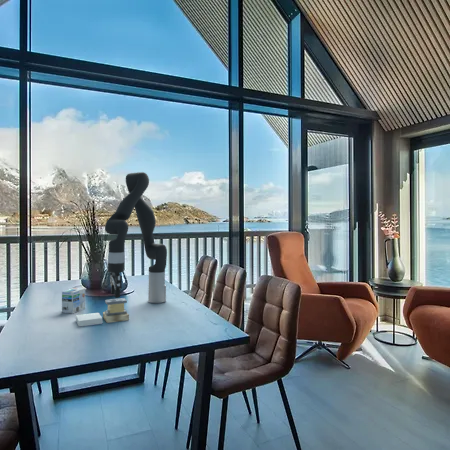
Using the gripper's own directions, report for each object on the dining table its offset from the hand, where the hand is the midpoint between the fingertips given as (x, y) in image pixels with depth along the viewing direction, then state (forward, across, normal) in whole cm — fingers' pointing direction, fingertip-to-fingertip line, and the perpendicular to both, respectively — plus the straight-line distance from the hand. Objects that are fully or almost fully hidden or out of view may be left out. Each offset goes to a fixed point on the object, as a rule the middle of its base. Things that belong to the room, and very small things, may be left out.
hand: (115, 295), depth 168 cm
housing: (+9, 0, 0) cm, 9 cm away
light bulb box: (+11, +24, +16) cm, 31 cm away
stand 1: (+11, 0, +12) cm, 16 cm away
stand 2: (+11, 0, 0) cm, 11 cm away
